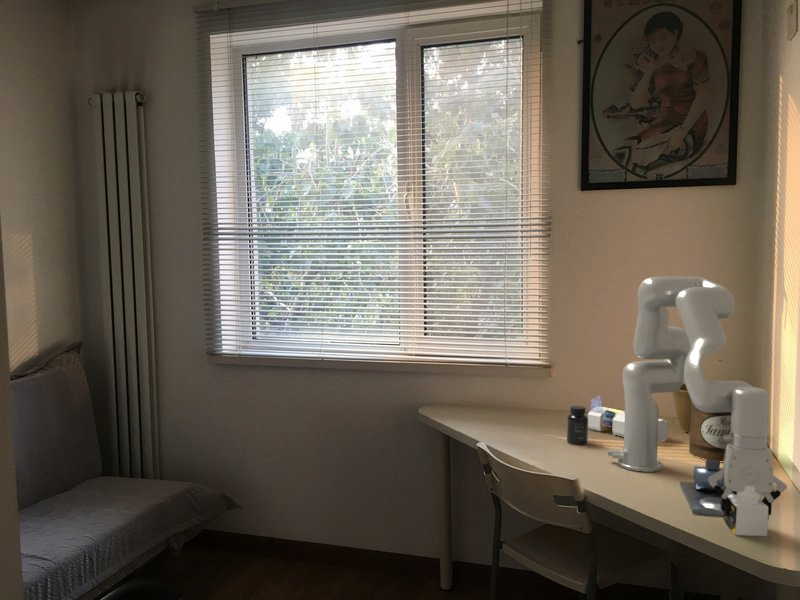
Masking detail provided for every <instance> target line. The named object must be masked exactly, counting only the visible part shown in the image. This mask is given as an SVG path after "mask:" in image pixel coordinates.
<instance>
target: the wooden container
mask: <svg viewBox="0 0 800 600" xmlns="http://www.w3.org/2000/svg"><path fill="white" fill-rule="evenodd" d="M730 431H731V412H717V413H705V412H701V411H700V410H698V409H697V408H696V407H695V406H694V404H693V403H692V410H691V425H690V434H689V447H688V449H689V450H688V451H689V454H690V453H691V454H690V455H692V454H693V455H694V456H693V455H692V456H693V457H695V456H697V457H700V458H704V459H714V460H718V461H724V455H725V451H726V447H727V444H730V442H729V441H726V440H724V435H727V434H729V433H730ZM697 457H696V458H697ZM700 458H699V459H700ZM704 459H703V460H704Z"/></svg>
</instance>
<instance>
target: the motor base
mask: <svg viewBox="0 0 800 600" xmlns="http://www.w3.org/2000/svg"><path fill="white" fill-rule="evenodd" d="M720 466H721V462H719V461H718V460H714V459H706V460H705V466H694V468H693V482H692V481H690V482H689V481H681V480H680V481H679V486H680V489H681V491H682V493H683V496H684V498H685V499H686V502H687V504H688V506H689V509H690V510H691V513H692V514H693V515H701V516H712V517H713V516H715V517H723V516H724V512H723V511H721V507H720V506H721V496H720V495H719V494H718V493H717V492H716V491H715V489H714V488H713V487H712V485H711V484H710V483H709V481H708V477H710V476H712V475H713V474H715V473H717V472H719V471H721V470H722V468H723V467H720ZM716 483H717V484H718V485H719V487H720V488H722V487H723V486H724V483H723V482H722V478H721V479H719V480H718V481H717V482H716ZM730 494H731V495H732V492H731V493H730Z"/></svg>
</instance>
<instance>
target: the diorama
mask: <svg viewBox="0 0 800 600" xmlns="http://www.w3.org/2000/svg"><path fill="white" fill-rule="evenodd" d="M601 399H602V397H601V396H600V395H596V397H593V399H592V398H591V399H590V401H591V402H590V403H591V404H590V406H589V407H590V408H589V412H588V413H587V417H588V429H589V428H590V429H594V430H598V431H602V429H601V425H602V424H604V425H607V426H612V428H611V429H612V434H613V436H615V435H618V436H617V437H619V436H622V437H621V438H623V437H624V424H625V410H620V409H619V410H618V409H615V408H611V407H604V406H602V403H603V401H602V400H601ZM602 416H603V417H602ZM601 417H602V418H603V421H602V423H601V419H602V418H601ZM669 425H670V424H669V422H668V421H667V420H665V419H663V418H659V417H658V442H660V441H663V440H665V439H667V440H668V436H669ZM590 429H589V430H590ZM594 430H593V431H594ZM598 431H597V432H598Z"/></svg>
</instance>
